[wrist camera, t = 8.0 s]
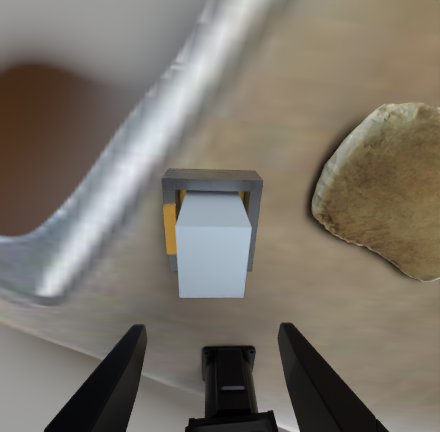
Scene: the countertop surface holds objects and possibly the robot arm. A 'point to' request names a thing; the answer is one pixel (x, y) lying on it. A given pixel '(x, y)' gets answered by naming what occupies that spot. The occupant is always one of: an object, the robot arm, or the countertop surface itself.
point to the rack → (208, 181)
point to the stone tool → (388, 188)
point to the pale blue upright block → (212, 245)
